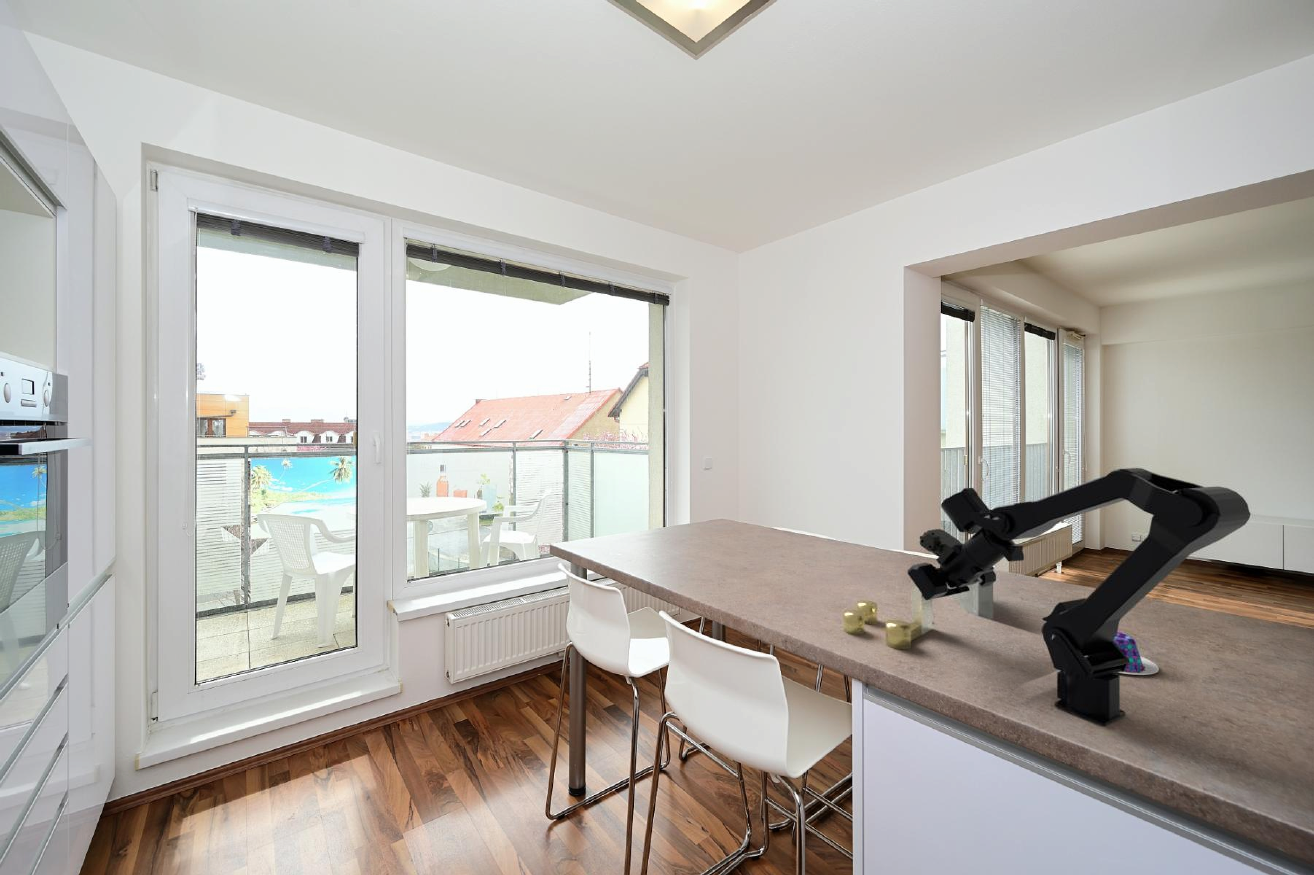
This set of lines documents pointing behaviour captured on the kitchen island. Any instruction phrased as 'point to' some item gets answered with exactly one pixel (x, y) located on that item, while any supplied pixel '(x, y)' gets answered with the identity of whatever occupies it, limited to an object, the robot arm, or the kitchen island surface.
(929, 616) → the lever
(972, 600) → the geiger counter
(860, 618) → the base
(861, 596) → the kitchen island surface
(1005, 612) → the kitchen island surface
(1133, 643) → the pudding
